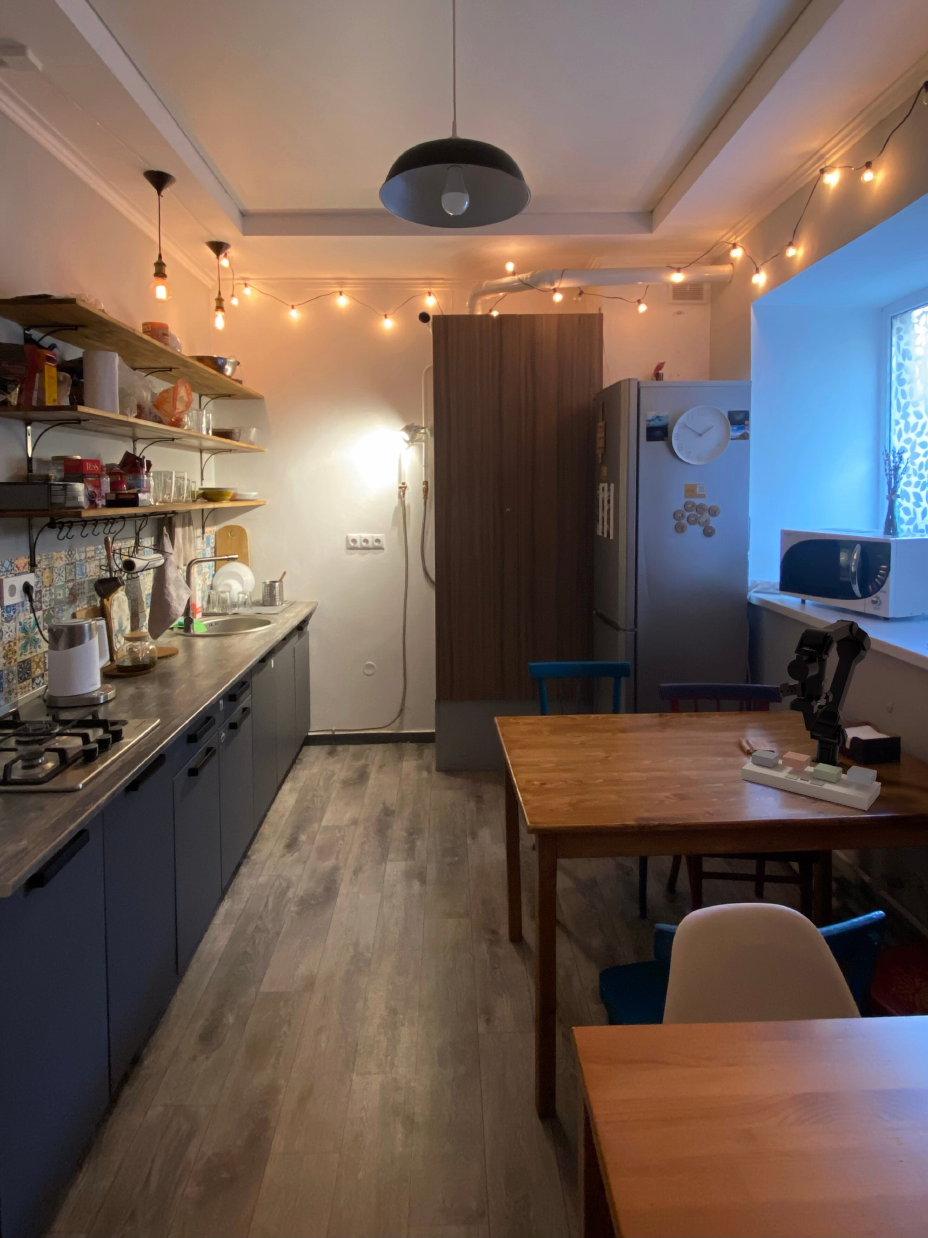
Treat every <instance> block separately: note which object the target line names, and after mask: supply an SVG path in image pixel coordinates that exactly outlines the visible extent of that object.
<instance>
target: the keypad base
mask: <svg viewBox="0 0 928 1238" xmlns="http://www.w3.org/2000/svg"><path fill="white" fill-rule="evenodd" d="M814 768H815V766H810V765H809V766H808V767H807V768H805V769H804V770H801V769H796V768H792V767H788V766H784V765H782V759H779V762H778V763H777V764H776V765H775V766H773V767H767V766H763V765H759V764H755V763H751V760H750V761H749V762H748V763H747V764H745V765H744V766H742V767H741V771H740V779H741V780H745V781H748V782H753V783H757V784H761V785H765V786H769V787H772V788H776V789H781V790H786V791H789V792H792V793H796V794H799V795H804V796H809V797H812V798H815V799H819V800H824V801H828V802H832V803H836V804H839V805H844V806H847V807H851V808H856V809H859V810H864V811H868V810H869V808H870V807H871V805H872V804H873V803H874V802H875V801H876V799H877V798H878V797H879V796H880V795H881V785H882V782H878V781H876V780H875V781H874V783H873V784H872V785H871V786H869V785H865V784H860V783H856V782H852V781H848V780H846V779H847V774H845V773H842V777H841V778H840V779H839V780H838V781H837V782H836V783H834V782H830V781H826V780H822V779H818V778H814V777H813V770H814Z"/></svg>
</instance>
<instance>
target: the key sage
mask: <svg viewBox="0 0 928 1238" xmlns="http://www.w3.org/2000/svg"><path fill="white" fill-rule="evenodd" d="M842 774H843V767H840V766H831V765H827V764H822V763H818V764H817V765H816V766H814V770H813V777H814V778H818V779H822V780H826V781H830V782H834V783H836V782H837V781H838V780H839V779H840V778H841V777H842Z"/></svg>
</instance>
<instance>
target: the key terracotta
mask: <svg viewBox="0 0 928 1238" xmlns="http://www.w3.org/2000/svg"><path fill="white" fill-rule="evenodd" d="M811 757H812V756H811V755H808V754H803V753H799V752H793V751H789V750H788V752H786V753H785V754H784V755H782V757H781V758H782V759H781V760H782V765H784V766H788V767H792V768H796V769H801V770H804V769H805V768H807V767H808V766H810V765H811V760H812V758H811Z"/></svg>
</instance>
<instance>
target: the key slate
mask: <svg viewBox="0 0 928 1238" xmlns="http://www.w3.org/2000/svg"><path fill="white" fill-rule="evenodd" d="M779 760H780V753H778V752H772V751H770V750H765V749H761V748H760V749H757V750H756V751H754V752H753V753H751V760H750V761H751V763H755V764H759V765H763V766H767V767H773V766H775V765H776V764H777V763H778V762H779Z"/></svg>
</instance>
